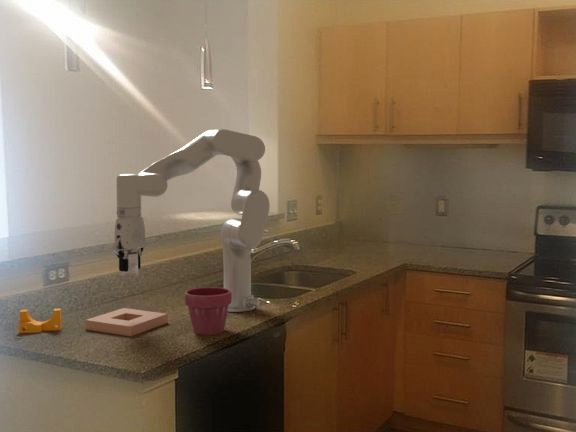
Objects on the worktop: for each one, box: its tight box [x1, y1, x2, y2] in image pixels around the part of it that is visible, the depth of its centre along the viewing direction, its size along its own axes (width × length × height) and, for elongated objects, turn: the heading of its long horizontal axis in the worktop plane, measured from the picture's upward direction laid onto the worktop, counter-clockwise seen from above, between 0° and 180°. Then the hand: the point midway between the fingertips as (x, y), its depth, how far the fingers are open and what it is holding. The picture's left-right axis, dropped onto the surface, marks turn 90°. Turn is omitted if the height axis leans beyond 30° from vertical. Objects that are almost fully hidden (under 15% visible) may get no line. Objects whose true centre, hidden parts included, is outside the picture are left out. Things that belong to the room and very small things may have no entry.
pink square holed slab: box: [84, 307, 168, 337], centre depth 223 cm, size 18×18×3 cm
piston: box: [120, 248, 139, 278], centre depth 223 cm, size 5×5×9 cm
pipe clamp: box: [18, 308, 63, 334], centre depth 218 cm, size 12×4×6 cm, turn 98°
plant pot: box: [184, 286, 232, 336], centre depth 216 cm, size 14×14×13 cm
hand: (129, 269), depth 223 cm, fingers closed on piston, 5 cm apart
